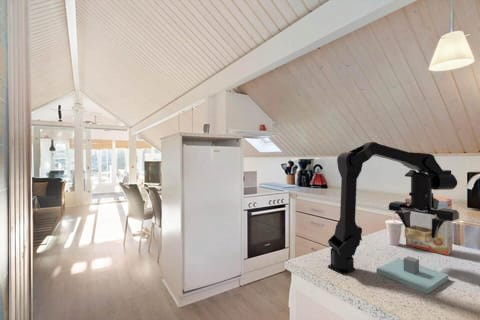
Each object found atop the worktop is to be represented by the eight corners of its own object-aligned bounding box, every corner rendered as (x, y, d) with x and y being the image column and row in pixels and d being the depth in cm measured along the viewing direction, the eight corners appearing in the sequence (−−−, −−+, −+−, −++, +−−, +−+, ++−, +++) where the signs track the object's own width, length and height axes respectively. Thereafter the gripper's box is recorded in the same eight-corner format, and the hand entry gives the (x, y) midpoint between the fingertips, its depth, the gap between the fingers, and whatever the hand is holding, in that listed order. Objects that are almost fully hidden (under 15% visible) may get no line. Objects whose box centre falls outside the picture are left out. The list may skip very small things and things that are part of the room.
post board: (376, 272, 77) (376, 256, 77) (398, 262, 84) (398, 247, 84) (427, 293, 65) (427, 274, 65) (448, 279, 72) (448, 261, 72)
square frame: (404, 236, 83) (404, 228, 83) (414, 233, 87) (414, 225, 86) (428, 243, 77) (428, 233, 77) (437, 239, 81) (437, 230, 80)
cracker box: (452, 252, 92) (452, 198, 92) (447, 256, 89) (447, 200, 88) (411, 242, 104) (410, 194, 103) (405, 245, 100) (404, 196, 100)
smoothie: (383, 244, 101) (383, 211, 101) (387, 240, 106) (386, 209, 106) (401, 248, 97) (401, 214, 97) (404, 243, 102) (404, 211, 102)
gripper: (465, 191, 78) (465, 238, 78) (402, 185, 94) (402, 224, 94) (452, 194, 72) (451, 245, 72) (387, 187, 88) (387, 229, 88)
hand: (420, 234), depth 82 cm, fingers closed on square frame, 7 cm apart
